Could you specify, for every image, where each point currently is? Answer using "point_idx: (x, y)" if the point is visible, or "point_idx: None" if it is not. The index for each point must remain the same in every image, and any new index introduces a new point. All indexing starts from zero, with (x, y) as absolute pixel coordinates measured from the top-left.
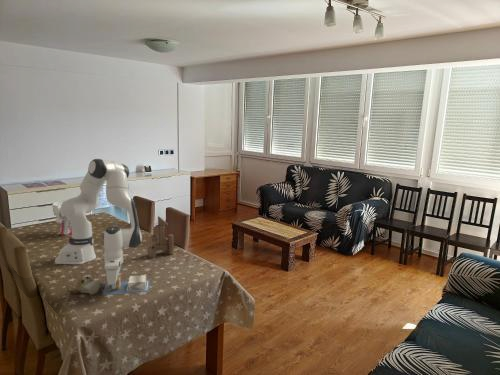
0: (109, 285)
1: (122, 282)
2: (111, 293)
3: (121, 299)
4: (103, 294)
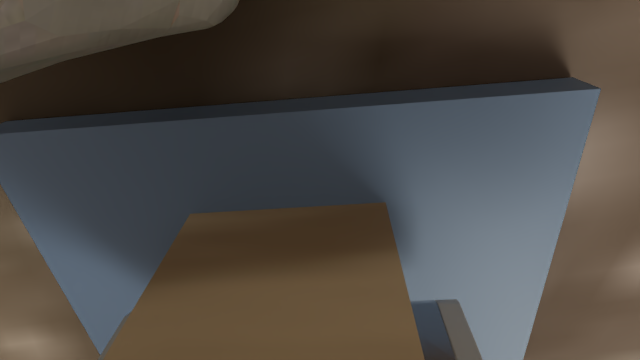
0: (149, 301)
1: (480, 343)
2: (83, 269)
3: (33, 356)
4: (8, 155)
